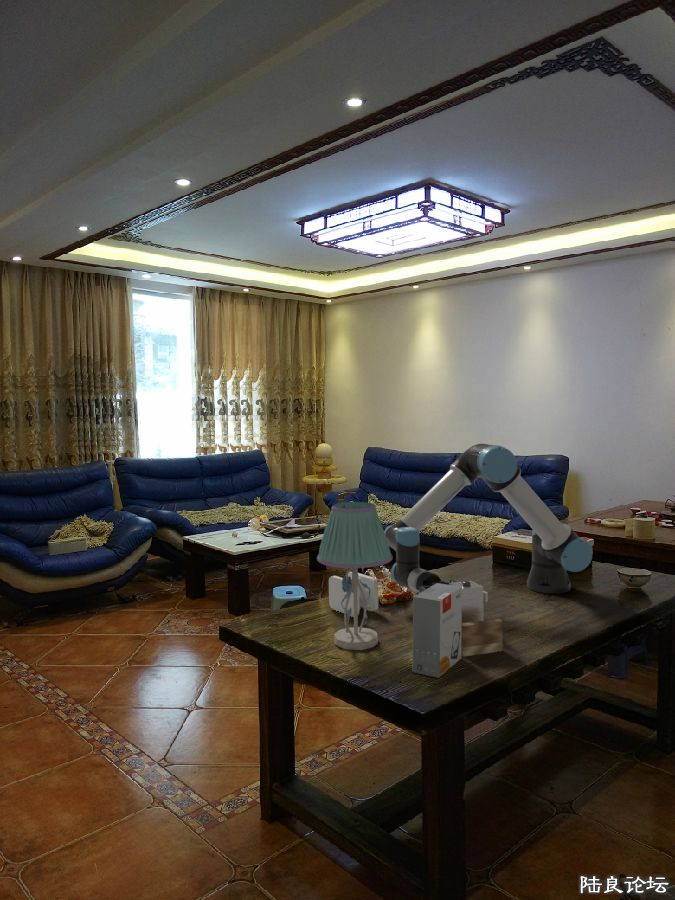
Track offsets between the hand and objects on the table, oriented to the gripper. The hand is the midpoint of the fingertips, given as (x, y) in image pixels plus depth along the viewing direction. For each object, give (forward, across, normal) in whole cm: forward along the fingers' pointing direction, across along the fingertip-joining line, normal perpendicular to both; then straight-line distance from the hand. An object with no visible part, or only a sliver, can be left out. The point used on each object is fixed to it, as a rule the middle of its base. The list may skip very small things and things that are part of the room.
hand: (468, 601), depth 187 cm
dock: (0, 0, -12) cm, 12 cm away
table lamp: (-16, +28, -12) cm, 35 cm away
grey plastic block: (-42, +15, -12) cm, 46 cm away
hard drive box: (+9, +17, -12) cm, 23 cm away
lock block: (-1, 0, -10) cm, 10 cm away
